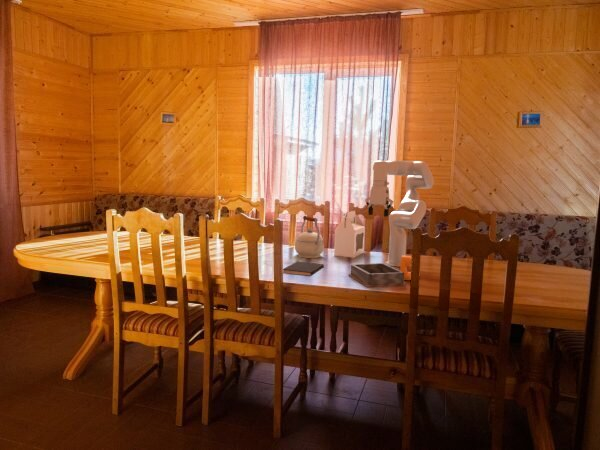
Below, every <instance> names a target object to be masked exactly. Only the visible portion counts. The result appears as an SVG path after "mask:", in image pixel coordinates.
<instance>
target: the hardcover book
mask: <svg viewBox="0 0 600 450" xmlns="http://www.w3.org/2000/svg"><path fill="white" fill-rule="evenodd" d="M324 267H325V264H324V263H317V262H308V261H307V262H306V261H295V262H294V263H292V264H290V265H288V266H286V267H284V268H282V269H283V270H282V272H283V273H284V274H294V275H302V276H313V275H314V274H316V273H317V272H319V271H321V270H322V269H323V268H324Z"/></svg>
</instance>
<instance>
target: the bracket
mask: <svg viewBox="0 0 600 450" xmlns="http://www.w3.org/2000/svg"><path fill="white" fill-rule="evenodd" d="M411 259H413V256H411V255H405V256H403V255H402V258H401V266H400V267H399V270H400V271H402V272H404V281H410V273H411V272H412V271H408V268H411V267H412V264H411Z"/></svg>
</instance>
